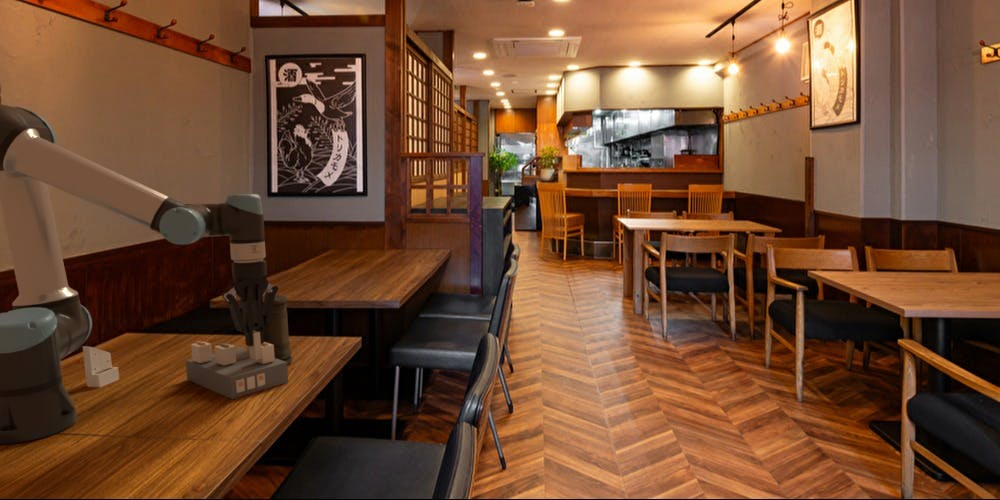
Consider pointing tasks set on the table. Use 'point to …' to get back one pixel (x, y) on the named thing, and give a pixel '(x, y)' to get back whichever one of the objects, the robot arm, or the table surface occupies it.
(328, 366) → the table surface
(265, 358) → the knob near
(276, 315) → the container
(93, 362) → the white wedge bracket
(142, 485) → the table surface
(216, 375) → the switch unit
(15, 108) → the robot arm
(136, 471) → the table surface
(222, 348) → the knob mid
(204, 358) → the knob far
